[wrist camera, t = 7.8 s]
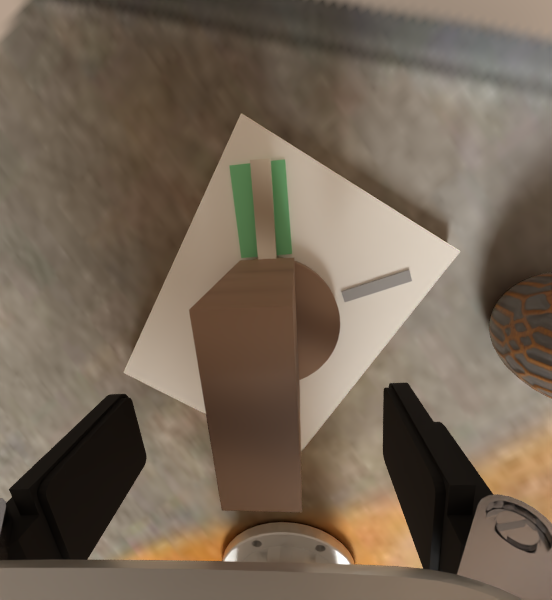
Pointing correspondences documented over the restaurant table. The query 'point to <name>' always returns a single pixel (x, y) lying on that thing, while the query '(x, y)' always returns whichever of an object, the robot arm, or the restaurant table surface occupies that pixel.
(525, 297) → the vase
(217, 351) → the dial knob
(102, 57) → the restaurant table surface
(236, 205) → the dial board
